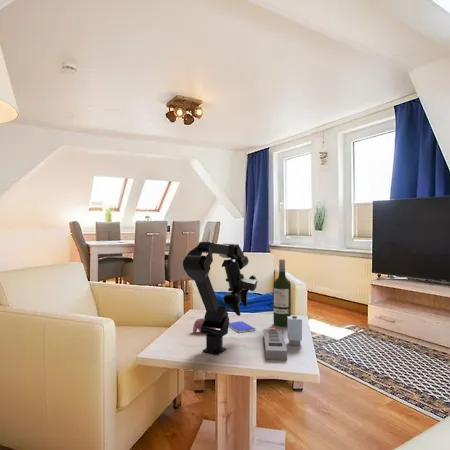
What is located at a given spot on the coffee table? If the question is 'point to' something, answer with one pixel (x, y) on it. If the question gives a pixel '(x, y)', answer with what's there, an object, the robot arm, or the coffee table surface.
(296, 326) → the light blue rectangular block
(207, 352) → the robot arm
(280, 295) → the wine bottle
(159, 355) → the coffee table surface
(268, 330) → the power strip
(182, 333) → the coffee table surface
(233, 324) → the hard drive
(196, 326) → the video game controller
